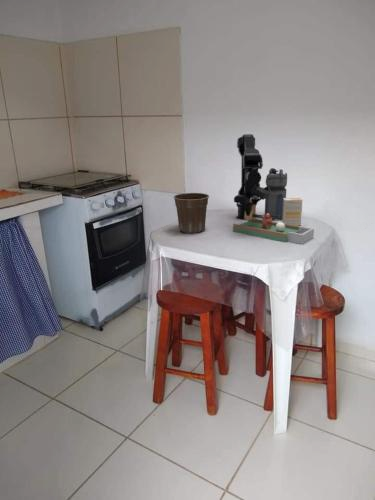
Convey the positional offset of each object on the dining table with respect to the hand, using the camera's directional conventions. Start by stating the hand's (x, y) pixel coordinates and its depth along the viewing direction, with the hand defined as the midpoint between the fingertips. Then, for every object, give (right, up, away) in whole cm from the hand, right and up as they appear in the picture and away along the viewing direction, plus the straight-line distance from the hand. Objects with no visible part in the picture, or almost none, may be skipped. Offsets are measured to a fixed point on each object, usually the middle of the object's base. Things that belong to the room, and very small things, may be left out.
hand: (250, 214), depth 181 cm
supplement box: (+21, -5, +7) cm, 22 cm away
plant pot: (-27, -7, +4) cm, 28 cm away
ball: (+12, -6, -8) cm, 16 cm away
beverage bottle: (+16, 0, +22) cm, 27 cm away
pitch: (+9, -9, -5) cm, 14 cm away
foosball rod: (+3, -5, -1) cm, 6 cm away
